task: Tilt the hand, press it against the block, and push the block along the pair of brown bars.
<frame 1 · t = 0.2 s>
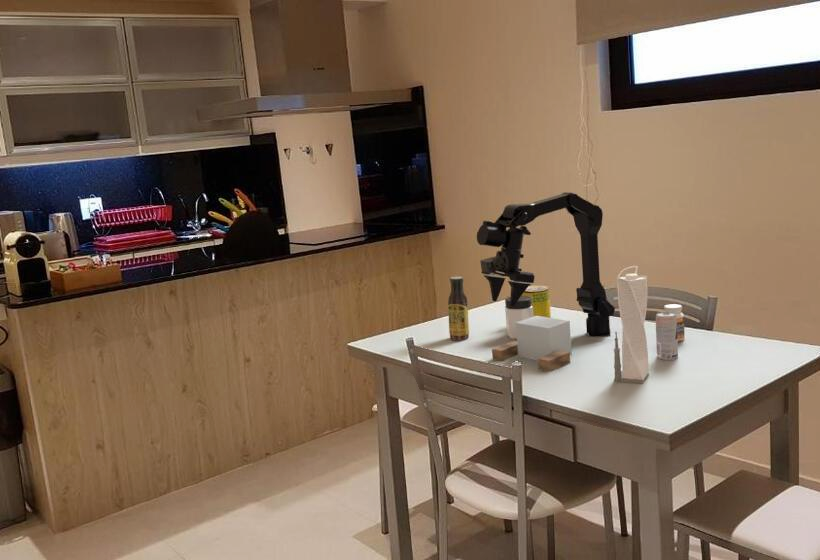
hand: (503, 303, 214), 16 cm above the table, tool pointing down, fingers open, 9 cm apart
sauce bottle: (460, 339, 241), on the table
pair of brown bars: (530, 360, 211), on the table
yellow can: (537, 324, 249), on the table
block: (544, 355, 215), on the table
energy drink: (667, 358, 203), on the table
pill bottle: (674, 340, 218), on the table
jar: (520, 336, 238), on the table
skyscraper: (634, 378, 190), on the table
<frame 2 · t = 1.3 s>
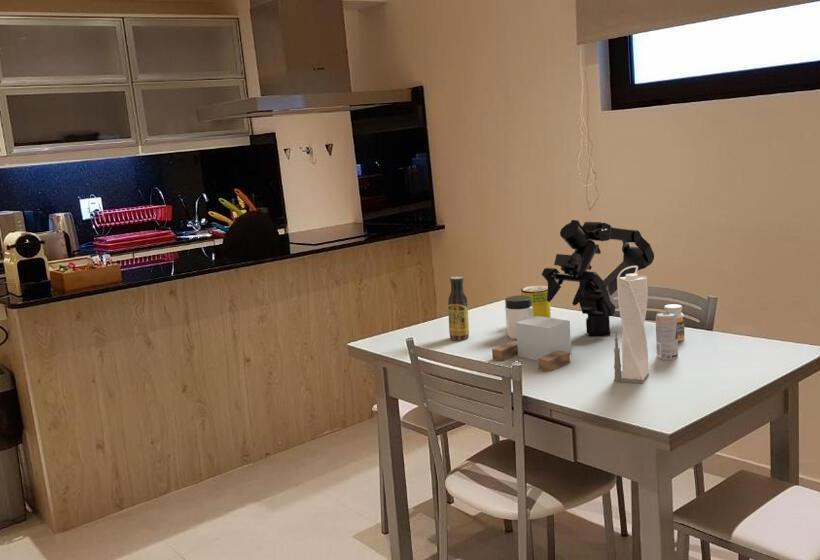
hand: (560, 303, 218), 13 cm above the table, tool tilted 45°, fingers open, 9 cm apart
nothing on the table moved.
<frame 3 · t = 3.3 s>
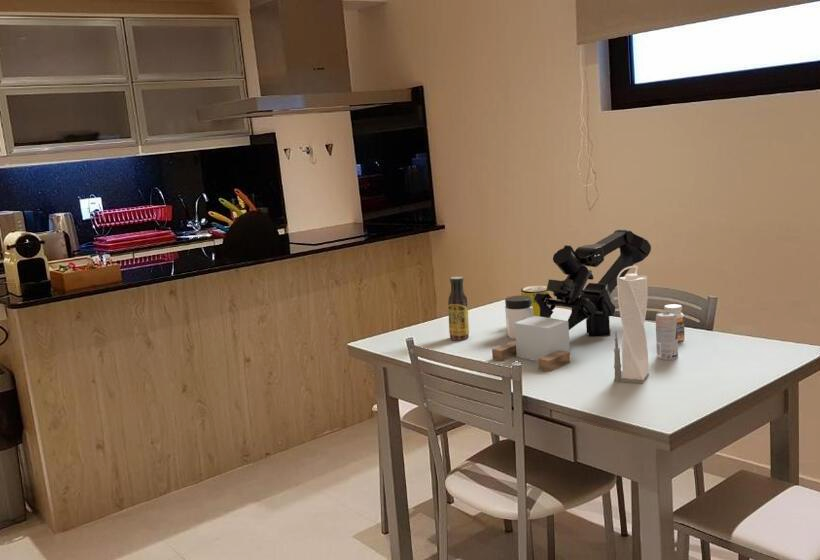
hand: (552, 328, 216), 7 cm above the table, tool tilted 45°, fingers open, 9 cm apart
block: (543, 355, 215), on the table, touching gripper
everything else where it was.
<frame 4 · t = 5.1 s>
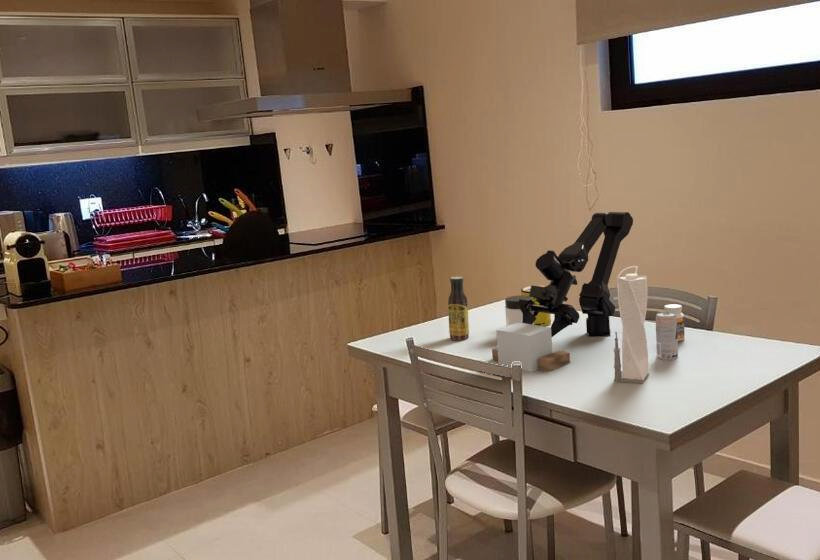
hand: (535, 335, 212), 7 cm above the table, tool tilted 45°, fingers open, 9 cm apart
block: (525, 363, 210), on the table
everything else where it was.
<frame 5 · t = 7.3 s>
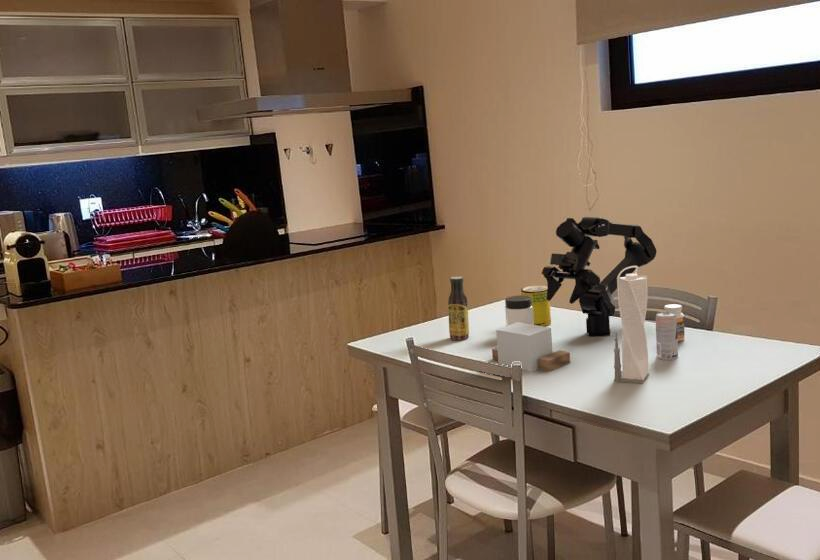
hand: (559, 301, 219), 14 cm above the table, tool tilted 40°, fingers open, 9 cm apart
nothing on the table moved.
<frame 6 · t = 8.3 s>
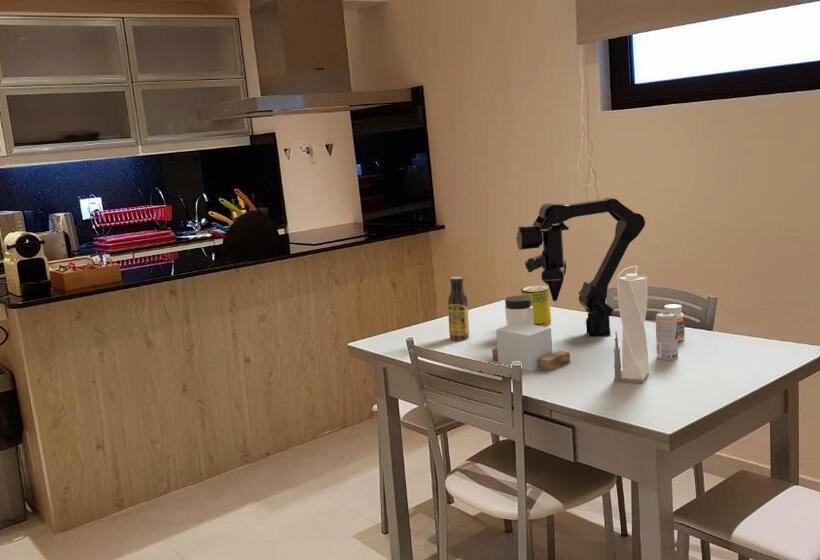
hand: (555, 297, 227), 13 cm above the table, tool pointing down, fingers open, 9 cm apart
nothing on the table moved.
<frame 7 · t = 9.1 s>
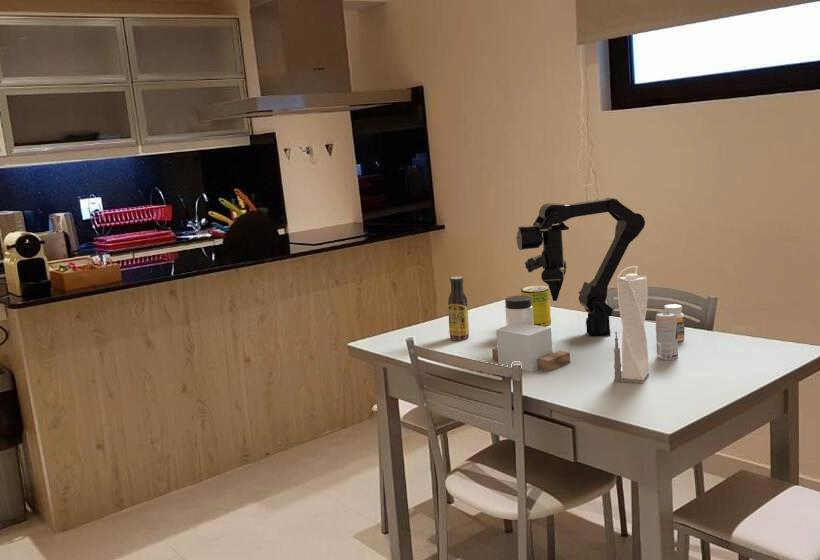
hand: (555, 297, 227), 13 cm above the table, tool pointing down, fingers open, 9 cm apart
nothing on the table moved.
at the end: block moved 8.3 cm from its start; block inside the target area (2.6 cm from its centre), on the table; block tilted 0° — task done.
